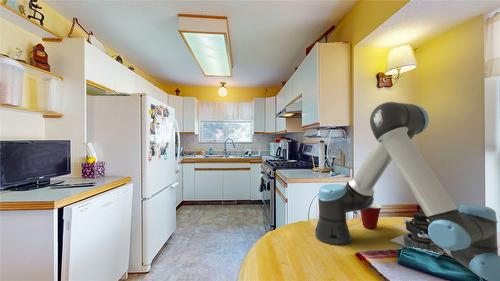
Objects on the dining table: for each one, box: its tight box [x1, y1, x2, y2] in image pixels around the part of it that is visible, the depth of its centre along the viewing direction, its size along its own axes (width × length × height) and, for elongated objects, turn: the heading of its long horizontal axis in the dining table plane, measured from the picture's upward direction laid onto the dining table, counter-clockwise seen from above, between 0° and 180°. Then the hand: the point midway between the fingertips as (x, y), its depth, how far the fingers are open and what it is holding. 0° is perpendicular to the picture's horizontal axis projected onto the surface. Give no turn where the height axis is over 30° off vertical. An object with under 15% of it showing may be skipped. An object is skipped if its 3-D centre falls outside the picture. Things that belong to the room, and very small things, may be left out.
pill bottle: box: [410, 212, 430, 243], centre depth 90 cm, size 6×6×11 cm
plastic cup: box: [359, 202, 383, 231], centre depth 108 cm, size 11×11×12 cm
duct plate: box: [389, 231, 446, 254], centre depth 90 cm, size 16×16×3 cm
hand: (413, 220), depth 95 cm, fingers closed on pill bottle, 6 cm apart
